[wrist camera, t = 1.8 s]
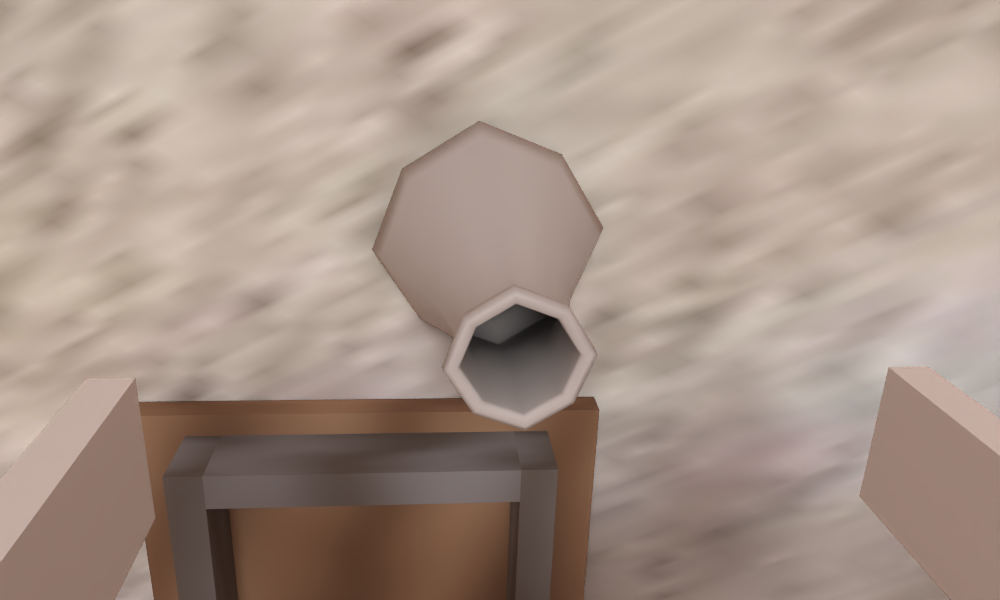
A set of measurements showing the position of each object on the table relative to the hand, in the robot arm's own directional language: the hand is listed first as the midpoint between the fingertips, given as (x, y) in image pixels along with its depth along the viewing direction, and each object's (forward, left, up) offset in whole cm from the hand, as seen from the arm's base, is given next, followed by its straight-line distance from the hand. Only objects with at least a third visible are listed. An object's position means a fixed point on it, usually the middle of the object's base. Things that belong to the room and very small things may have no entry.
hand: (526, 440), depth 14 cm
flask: (0, 0, -14) cm, 14 cm away
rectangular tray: (+4, +13, -13) cm, 19 cm away
